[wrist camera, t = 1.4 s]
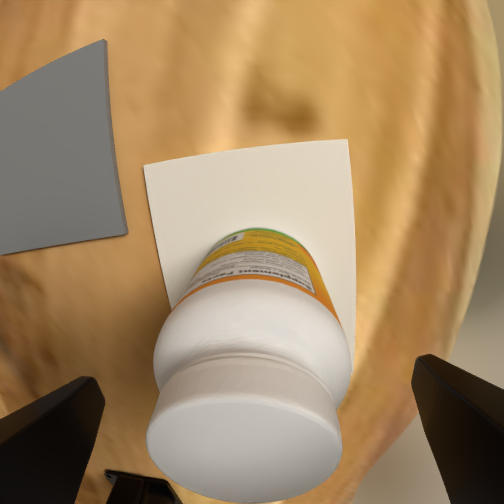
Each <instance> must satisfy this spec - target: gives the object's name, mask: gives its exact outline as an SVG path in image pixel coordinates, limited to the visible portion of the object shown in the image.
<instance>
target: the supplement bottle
mask: <svg viewBox="0 0 504 504" xmlns="http://www.w3.org/2000/svg"><path fill="white" fill-rule="evenodd" d="M153 369H154V376H155V380H156V384H157V387H158V389H159V392H160V394H159V396H158V399H157V403H156V406H155V409H154V411H153V414H152V416H151V419H150V422H149V424H148V427H147V430H146V447H147V450H148V453H149V455H150V457H151V459H152V461H153V462H154V464H155V465H156V466H157V467H158V468H159V469H160V470H161V471H162V472H163V473H164V474H165V475H166V476H167V477H168V478H170V479H171V480H172V481H174V482H175V483H177V484H179V485H180V486H182V487H184V488H186V489H188V490H190V491H193V492H195V493H198V494H200V495H203V496H206V497H210V498H214V499H218V500H222V501H228V502H237V503H266V502H275V501H281V500H285V499H288V498H292V497H296V496H299V495H301V494H304V493H306V492H308V491H310V490H312V489H314V488H315V487H317V486H319V485H320V484H322V483H323V482H324V481H325V480H327V479H328V478H329V477H330V476H331V475H332V474H333V472H334V471H335V470H336V468H337V466H338V465H339V462H340V459H341V456H342V445H343V444H342V438H341V433H340V426H339V421H338V417H337V413H336V410H337V408H338V407H339V405H340V404H341V402H342V400H343V399H344V397H345V394H346V392H347V389H348V386H349V382H350V378H351V370H352V365H351V354H350V350H349V346H348V343H347V340H346V336H345V333H344V331H343V328H342V326H341V323H340V321H339V318H338V316H337V313H336V311H335V308H334V306H333V304H332V301H331V298H330V296H329V293H328V291H327V289H326V287H325V284H324V282H323V279H322V277H321V274H320V272H319V270H318V267H317V265H316V263H315V261H314V259H313V258H312V256H311V254H310V253H309V251H308V250H307V249H306V248H305V247H304V246H303V245H302V244H301V243H300V242H299V241H298V240H297V239H295V238H294V237H292V236H290V235H289V234H287V233H284V232H282V231H279V230H276V229H273V228H267V227H250V228H245V229H241V230H238V231H235V232H233V233H231V234H229V235H227V236H225V237H224V238H222V239H221V240H220V241H219V242H217V243H216V244H215V245H214V246H213V247H212V249H211V250H210V251H209V252H208V254H207V255H206V256H205V258H204V259H203V261H202V262H201V264H200V266H199V267H198V269H197V271H196V272H195V274H194V275H193V277H192V279H191V280H190V282H189V283H188V285H187V287H186V288H185V290H184V292H183V293H182V295H181V296H180V298H179V300H178V301H177V303H176V304H175V306H174V307H173V309H172V311H171V312H170V314H169V315H168V317H167V319H166V321H165V322H164V325H163V327H162V329H161V331H160V333H159V336H158V339H157V342H156V346H155V349H154V357H153Z"/></svg>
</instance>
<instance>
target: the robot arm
mask: <svg viewBox="0 0 504 504" xmlns="http://www.w3.org/2000/svg"><path fill="white" fill-rule="evenodd" d="M411 385H412V390H413V393H414V396H415V400H416V403H417V407H418V410H419V414H420V417H421V421H422V425H423V428H424V432H425V434H426V437H427V440H428V442H429V445H430V447H431V450H432V453H433V455H434V458H435V460H436V463H437V466H438V468H439V471H440V474H441V477H442V479H443V482H444V485H445V488H446V491H447V494H448V497H449V500H450V503H451V504H504V389H501V388H499V387H497V386H495V385H493V384H491V383H489V382H487V381H485V380H483V379H481V378H479V377H477V376H475V375H473V374H471V373H469V372H466V371H465V370H463V369H461V368H459V367H457V366H454V365H452V364H450V363H448V362H446V361H444V360H442V359H440V358H438V357H436V356H434V355H432V354H427V355H422V356H419V357H417V358H416V361H415V365H414V370H413V375H412V381H411ZM104 406H105V398H104V396H103V394H102V392H101V389H100V387H99V385H98V383H97V381H96V379H95V378H93V377H89V376H81V377H79V378H77V379H75V380H73V381H71V382H70V383H68V384H66V385H64V386H62V387H60V388H58V389H57V390H55V391H53V392H51V393H49V394H47V395H45V396H44V397H42V398H40V399H38V400H36V401H34V402H32V403H30V404H28V405H27V406H25V407H23V408H21V409H19V410H17V411H15V412H13V413H11V414H9V415H7V416H5V417H4V418H2V419H0V504H74V503H75V500H76V497H77V494H78V491H79V488H80V485H81V482H82V479H83V476H84V473H85V470H86V467H87V464H88V461H89V459H90V456H91V453H92V450H93V447H94V444H95V441H96V437H97V433H98V429H99V425H100V421H101V417H102V414H103V410H104ZM104 475H105V476H106V478H107V479H108V480H109V481H110V483H111V484H112V485H113V488H112V490H111V492H110V495H109V497H108V499H107V502H106V504H182V502H181V501H180V499H179V498H178V496H177V495H176V493H175V492H174V490H173V489H172V487H171V486H170V484H169V483H168V482H166V481H164V480H157V479H151V478H144V477H138V476H133V475H127V474H122V473H117V472H113V471H108V470H106V471H105V473H104Z"/></svg>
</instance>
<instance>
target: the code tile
mask: <svg viewBox="0 0 504 504" xmlns="http://www.w3.org/2000/svg"><path fill="white" fill-rule="evenodd" d="M143 167H144V174H145V181H146V187H147V193H148V199H149V205H150V211H151V217H152V222H153V228H154V233H155V238H156V243H157V248H158V253H159V258H160V263H161V267H162V272H163V276H164V281H165V285H166V290H167V294H168V298H169V302H170V306H171V310H172V309H173V307H174V306H175V304H176V303H177V301H178V300H179V298H180V296H181V295H182V293H183V292H184V290H185V288H186V287H187V285H188V283H189V282H190V280H191V279H192V277H193V275H194V274H195V272H196V271H197V269H198V267H199V266H200V264H201V262H202V261H203V259H204V258H205V256H206V255H207V254H208V252H209V251H210V250H211V249H212V247H213V246H214V245H215V244H216V243H217V242H219V241H220V240H221V239H222V238H224V237H225V236H227V235H229V234H231V233H233V232H235V231H238V230H241V229H245V228H250V227H267V228H273V229H276V230H279V231H282V232H284V233H287V234H289V235H290V236H292V237H294V238H295V239H297V240H298V241H299V242H300V243H301V244H302V245H303V246H304V247H305V248H306V249H307V250H308V251H309V253H310V254H311V256H312V258H313V259H314V261H315V263H316V265H317V267H318V270H319V272H320V274H321V277H322V279H323V282H324V284H325V287H326V289H327V291H328V293H329V296H330V298H331V301H332V304H333V306H334V308H335V311H336V313H337V316H338V318H339V321H340V323H341V326H342V328H343V331H344V333H345V336H346V340H347V343H348V346H349V350H350V354H351V365H352V370H351V373H353V367H354V349H355V323H356V252H355V225H354V207H353V192H352V179H351V168H350V157H349V148H348V139H341V140H324V141H310V142H298V143H287V144H277V145H268V146H259V147H251V148H243V149H235V150H228V151H221V152H215V153H208V154H202V155H196V156H190V157H184V158H179V159H173V160H168V161H163V162H158V163H153V164H148V165H143Z"/></svg>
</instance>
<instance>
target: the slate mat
mask: <svg viewBox="0 0 504 504" xmlns="http://www.w3.org/2000/svg"><path fill="white" fill-rule="evenodd" d="M127 233H128V228H127V223H126V218H125V212H124V207H123V201H122V195H121V189H120V183H119V176H118V170H117V163H116V155H115V147H114V139H113V130H112V120H111V109H110V96H109V81H108V58H107V41H106V40H104V39H102V40H100V41H97V42H95V43H92V44H90V45H87V46H85V47H83V48H80V49H78V50H76V51H74V52H71V53H69V54H67V55H65V56H63V57H61V58H59V59H57V60H55V61H53V62H51V63H49V64H47V65H45V66H43V67H41V68H39V69H38V70H36V71H34V72H32V73H30V74H29V75H27V76H25V77H23V78H22V79H20V80H18V81H17V82H15V83H13V84H12V85H10V86H8V87H7V88H5V89H4V90H2V91H1V92H0V255H4V254H9V253H14V252H20V251H26V250H31V249H37V248H43V247H48V246H54V245H60V244H66V243H73V242H79V241H85V240H91V239H98V238H104V237H111V236H118V235H124V234H127Z"/></svg>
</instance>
